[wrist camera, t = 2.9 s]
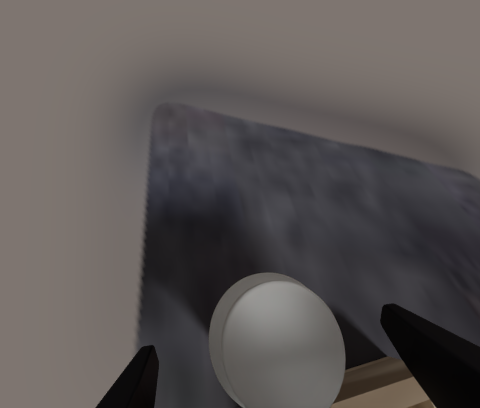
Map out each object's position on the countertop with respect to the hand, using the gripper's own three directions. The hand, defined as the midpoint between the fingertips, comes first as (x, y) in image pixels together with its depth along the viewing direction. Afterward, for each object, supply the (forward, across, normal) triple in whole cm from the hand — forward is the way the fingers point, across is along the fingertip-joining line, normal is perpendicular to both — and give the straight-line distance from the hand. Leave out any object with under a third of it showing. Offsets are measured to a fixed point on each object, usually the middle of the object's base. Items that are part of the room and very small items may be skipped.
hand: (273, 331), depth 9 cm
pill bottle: (+6, 0, +6) cm, 8 cm away
